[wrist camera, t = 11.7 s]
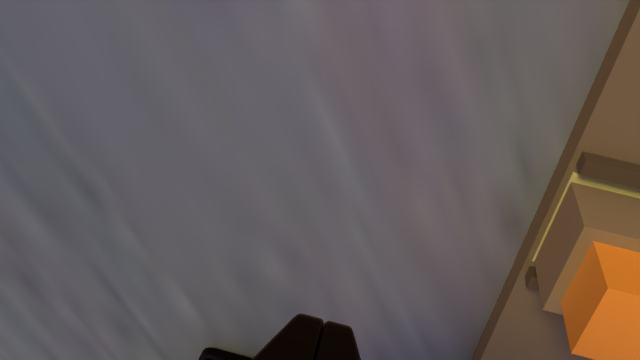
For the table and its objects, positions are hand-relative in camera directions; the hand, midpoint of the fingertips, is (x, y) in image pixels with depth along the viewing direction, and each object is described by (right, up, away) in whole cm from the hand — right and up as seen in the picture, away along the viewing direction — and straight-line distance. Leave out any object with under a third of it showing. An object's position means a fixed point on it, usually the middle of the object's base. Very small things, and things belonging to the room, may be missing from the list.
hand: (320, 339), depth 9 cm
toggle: (+9, +1, +10) cm, 14 cm away
